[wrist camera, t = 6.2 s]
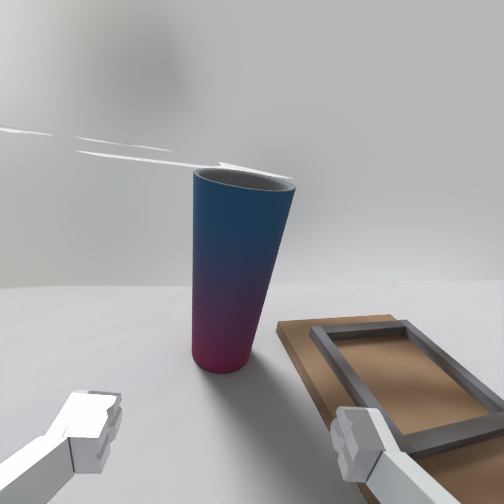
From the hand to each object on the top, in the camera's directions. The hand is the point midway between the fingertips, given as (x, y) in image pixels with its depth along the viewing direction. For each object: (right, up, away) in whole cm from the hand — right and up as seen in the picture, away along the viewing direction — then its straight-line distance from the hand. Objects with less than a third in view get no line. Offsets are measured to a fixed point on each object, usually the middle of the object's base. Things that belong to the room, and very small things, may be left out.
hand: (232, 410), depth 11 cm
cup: (-2, -3, +14) cm, 15 cm away
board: (+13, -6, +11) cm, 18 cm away
